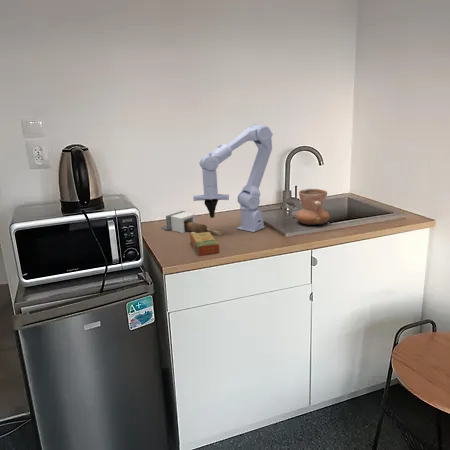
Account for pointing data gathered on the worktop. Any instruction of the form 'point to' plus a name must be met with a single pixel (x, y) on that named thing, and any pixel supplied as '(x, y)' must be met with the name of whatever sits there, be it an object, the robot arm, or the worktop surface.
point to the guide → (211, 232)
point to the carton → (204, 243)
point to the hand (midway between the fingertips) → (212, 217)
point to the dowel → (195, 227)
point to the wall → (169, 221)
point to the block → (181, 221)
